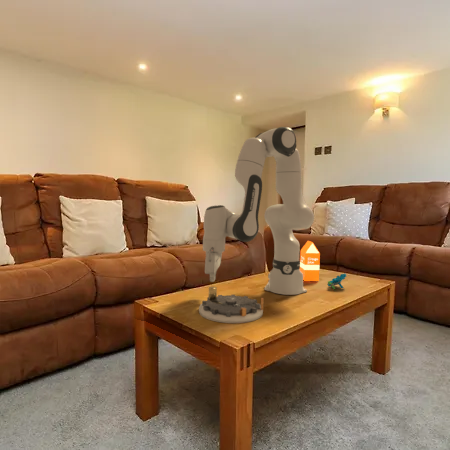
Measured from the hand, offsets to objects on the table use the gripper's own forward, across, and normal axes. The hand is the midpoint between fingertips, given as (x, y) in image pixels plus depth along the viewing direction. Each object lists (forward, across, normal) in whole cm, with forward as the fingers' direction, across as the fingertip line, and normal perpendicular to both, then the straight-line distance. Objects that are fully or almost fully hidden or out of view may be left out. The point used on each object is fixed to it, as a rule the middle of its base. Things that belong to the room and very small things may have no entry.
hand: (212, 280), depth 132 cm
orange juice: (+7, +45, -45) cm, 64 cm away
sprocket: (+6, -12, -9) cm, 16 cm away
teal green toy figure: (+7, +30, -55) cm, 63 cm away
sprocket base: (+8, -12, -9) cm, 16 cm away
